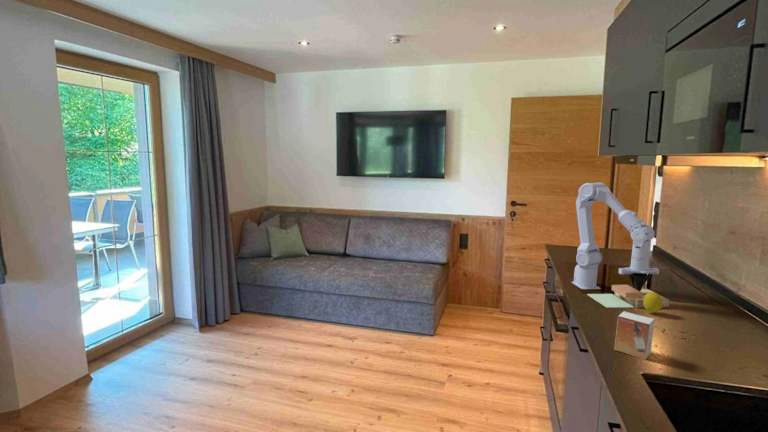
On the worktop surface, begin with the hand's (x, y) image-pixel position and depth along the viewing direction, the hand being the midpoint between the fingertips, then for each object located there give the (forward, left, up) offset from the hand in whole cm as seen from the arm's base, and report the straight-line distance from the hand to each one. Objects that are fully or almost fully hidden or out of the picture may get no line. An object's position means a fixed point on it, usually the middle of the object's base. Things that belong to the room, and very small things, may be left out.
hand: (636, 292), depth 156 cm
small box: (+40, -27, -4) cm, 48 cm away
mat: (0, -10, -4) cm, 11 cm away
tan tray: (0, +2, -4) cm, 4 cm away
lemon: (+12, -2, -4) cm, 13 cm away
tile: (0, -4, -1) cm, 4 cm away
